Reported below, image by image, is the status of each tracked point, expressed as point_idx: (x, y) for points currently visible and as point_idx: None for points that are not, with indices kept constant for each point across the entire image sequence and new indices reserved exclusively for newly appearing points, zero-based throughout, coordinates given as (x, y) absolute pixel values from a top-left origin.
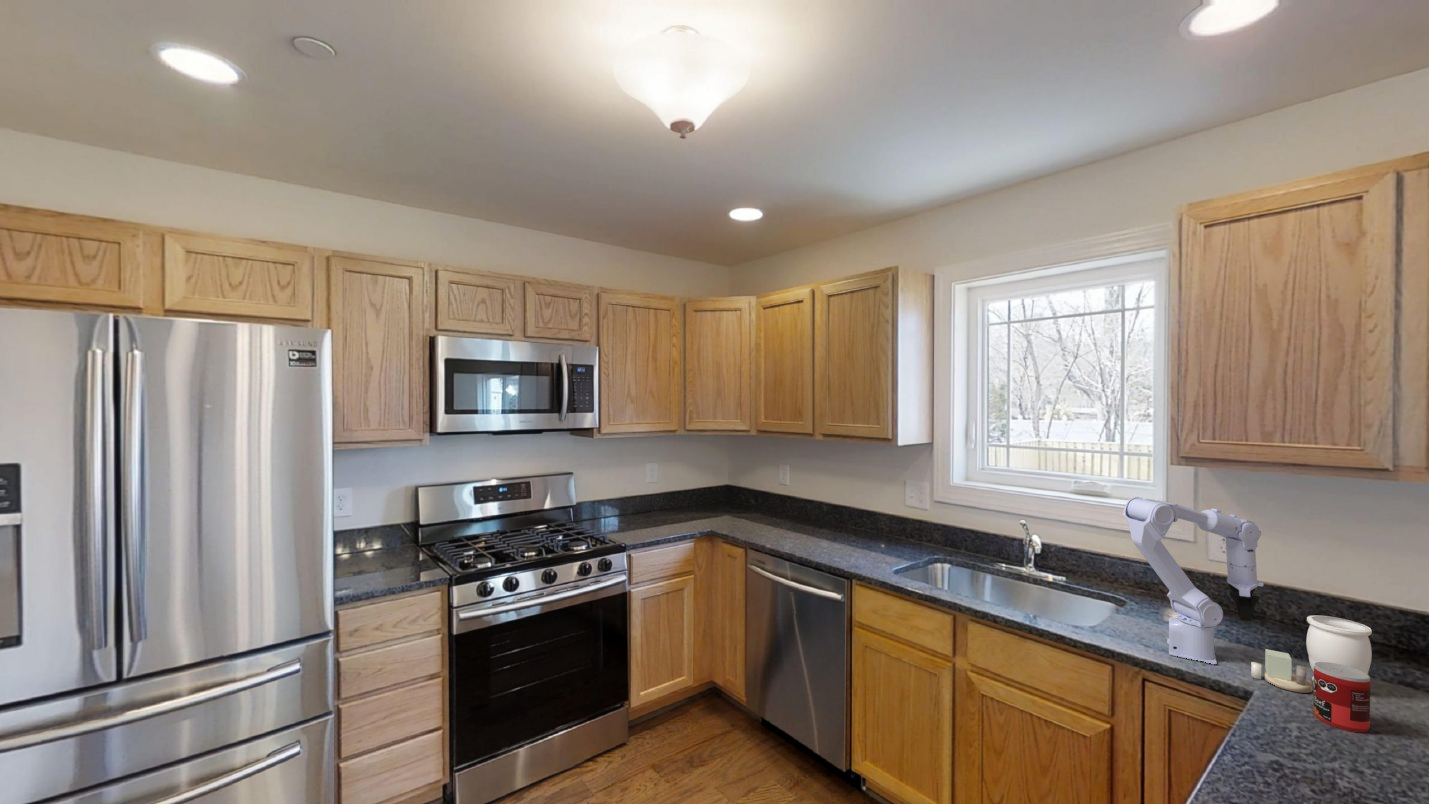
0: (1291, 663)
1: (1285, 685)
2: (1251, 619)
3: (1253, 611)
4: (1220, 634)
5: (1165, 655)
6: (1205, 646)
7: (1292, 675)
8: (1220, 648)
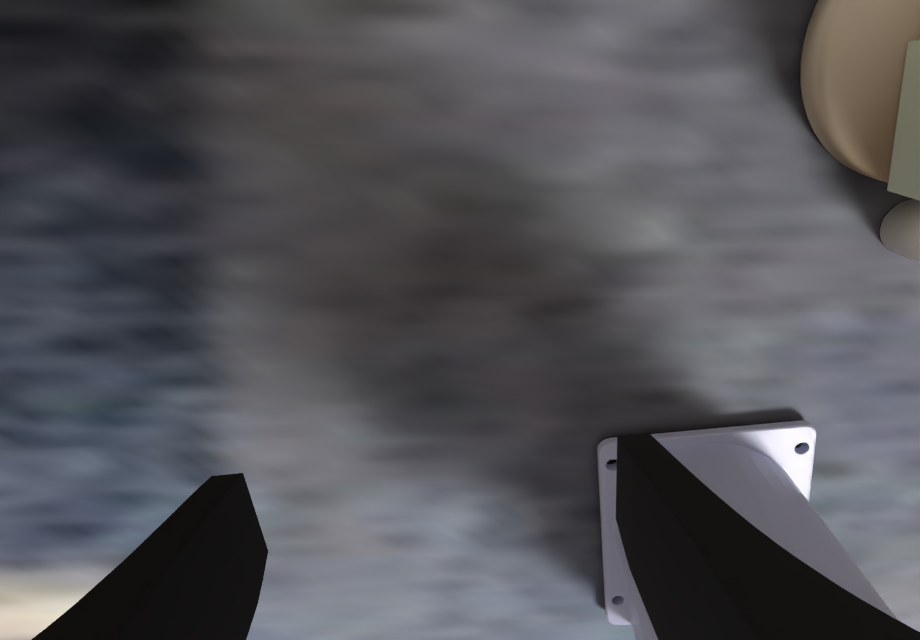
0: None
1: None
2: (662, 448)
3: (745, 521)
4: (104, 428)
5: None
6: (838, 541)
7: (902, 11)
8: (421, 415)
